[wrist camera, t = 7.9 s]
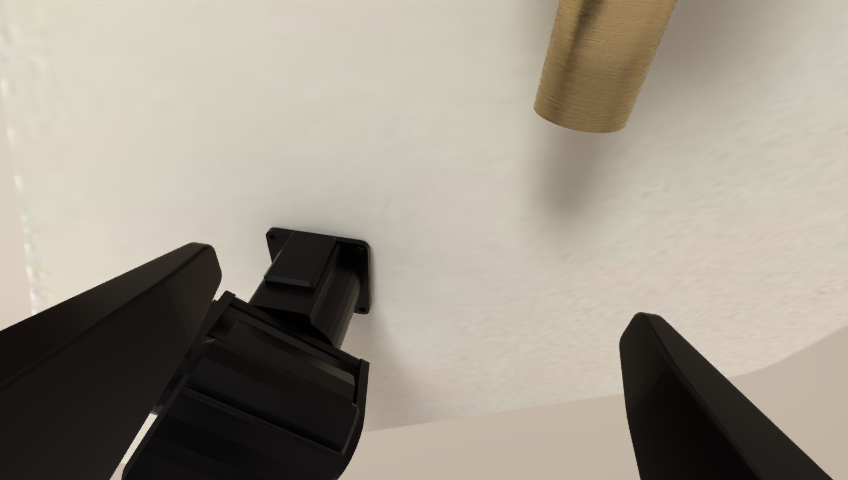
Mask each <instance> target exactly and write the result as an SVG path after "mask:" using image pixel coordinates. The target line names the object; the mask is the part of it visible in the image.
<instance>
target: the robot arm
mask: <svg viewBox="0 0 848 480" xmlns="http://www.w3.org/2000/svg"><path fill="white" fill-rule="evenodd" d="M274 235H275V236H274ZM276 236H277V237H276ZM266 239H267V243H268V248H269V252H270V256H271V261H272V264H271V266H270V267H269V269H268V270H267V272H266V274H265V275H264V279H263V280H262V282H261V284H260V285H259V287H258V288H257V290H256V291H255V293H254V294H253V296H252V298H251V299H250V301H249V302H248V303H247V302H245V301H243V300H241V299H239V298H237V297H235V296H236V295H235V294H233V293H231V292H229V291H227V290H226V291H225V292H224V293H223V295H222V296H221V297H220V298H219V300H218V301H217V300H215V299H214V300H213V298H214V296H215V294H216V291H217V289H218V287H219V285H220V282H221V278H222V272H221V269H220V265H219V262H218V259H217V256H216V252H215V249H214V248H213V247H212V246H211V245H209V244H203V243H196V242H192V243H189V244H186V245H184V246H182V247H180V248H178V249H176V250H173V251H171V252H169V253H167V254H165V255H163V256H161V257H158V258H156V259H154V260H152V261H150V262H148V263H145V264H143V265H141V266H139V267H137V268H135V269H133V270H130V271H128V272H126V273H124V274H122V275H120V276H118V277H115V278H113V279H111V280H109V281H107V282H105V283H102V284H100V285H98V286H96V287H94V288H92V289H90V290H87V291H85V292H83V293H81V294H79V295H77V296H74V297H72V298H70V299H68V300H66V301H64V302H62V303H59V304H57V305H55V306H53V307H51V308H49V309H46V310H44V311H42V312H40V313H38V314H36V315H34V316H31V317H29V318H27V319H25V320H23V321H21V322H18V323H17V324H14V325H12V326H10V327H8V328H6V329H4V330H1V331H0V480H110V478H111V476H112V475H113V473H114V472H115V470H116V468H117V467H118V465H119V463H120V462H121V460H122V459H123V457H124V455H125V454H126V452H127V450H128V449H129V447H130V445H131V444H132V442H133V440H134V439H135V437H136V435H137V434H138V432H139V430H140V429H141V427H142V425H143V424H144V422H145V421H146V419H147V417H148V416H149V414H150V413H151V414H154V415H157V418H156V419H155V421H154V422H153V424H152V425H151V427H150V428H149V430H148V431H147V433H146V435H145V436H144V438H143V439H142V441H141V442H140V444H139V445H138V447H137V448H136V450H135V452H134V453H133V455H132V456H131V458H130V459H129V461H128V462H127V464H126V466H125V468H124V470H123V474H122V479H121V480H337V479H338V478H339V477H340V476H341V475H342V473H343V472H344V470H345V469H346V467H347V466H348V464H349V462H350V460H351V458H352V456H353V454H354V452H355V449H356V447H357V444H358V442H359V439H360V436H361V432H362V429H363V423H364V416H365V406H366V395H367V384H368V373H369V362H367V361H365V360H363V359H358V358H356V357H354V356H352V355H350V354H348V353H346V352H344V351H342V350H340V348H341V345H342V342H343V339H344V337H345V334H346V331H347V328H348V326H349V323H350V320H351V317H352V315H353V313H359V314H368V313H369V311H370V307H371V291H370V247H369V245H368V243H367V242H365V241H362V240H357V239H350V238H343V237H336V236H329V235H323V234H316V233H309V232H302V231H295V230H288V229H282V228H270V229H269V231H268V232H267V233H266ZM358 247H360V248H362V249H359V248H358ZM212 300H213V301H212ZM619 350H620V359H621V369H622V378H623V388H624V397H625V406H626V413H627V419H628V424H629V430H630V434H631V439H632V443H633V447H634V452H635V457H636V461H637V466H638V470H639V475H640V479H641V480H833V479H832V478H831V477H830V476H829V475H828V474H826V473H825V472H824V471H823V470H822V469H821V468H820V467H819V466H818V465H817V464H816V463H815V462H814V461H813V460H812V459H811V458H810V457H809V456H807V455H806V454H805V453H804V452H803V451H802V450H801V449H800V448H799V447H798V446H797V445H796V444H795V443H794V442H793V441H791V439H790V438H789V437H787V436H786V435H785V434H784V433H783V432H782V431H781V430H780V429H779V428H778V427H777V426H776V425H775V424H774V423H773V422H772V421H771V420H770V419H769V418H767V417H766V416H765V415H764V414H763V413H762V412H761V411H760V410H759V409H758V408H757V407H756V406H755V405H754V404H753V403H752V402H751V401H750V400H749V399H747V398H746V397H745V396H744V395H743V394H742V393H741V392H740V391H739V390H738V389H737V388H736V387H735V386H734V385H733V384H732V383H731V382H730V381H729V380H727V379H726V378H725V377H724V376H723V375H722V374H721V373H720V372H719V371H718V370H717V369H716V368H715V367H714V366H713V365H712V364H711V363H710V362H709V361H708V360H706V359H705V358H704V357H703V356H702V355H701V354H700V353H699V352H698V351H697V350H696V349H695V348H694V347H693V346H692V345H691V344H690V343H689V342H688V341H686V340H685V339H684V338H683V337H682V336H681V335H680V334H679V333H678V332H677V331H676V330H675V329H674V328H673V327H672V326H671V325H670V324H669V323H668V322H666V321H665V320H664V319H663V318H662V317H661V316H659V315H656V314H650V313H644V312H639V313H637V314H635V315H634V317H633V318H632V320H631V321H630V323H629V325H628V326H627V328H626V329H625V331H624V333H623V334H622V336H621V338H620V342H619Z"/></svg>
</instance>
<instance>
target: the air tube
mask: <svg viewBox="0 0 848 480" xmlns="http://www.w3.org/2000/svg"><path fill="white" fill-rule="evenodd" d="M676 1H677V0H560V2H559V6H558V10H557V14H556V18H555V22H554V26H553V30H552V34H551V38H550V42H549V46H548V50H547V54H546V58H545V62H544V66H543V71H542V75H541V79H540V83H539V87H538V91H537V95H536V99H535V103H534V110H535V111H536V113H537V114H538V115H540V116H541V117H542V118H544V119H546V120H548V121H550V122H552V123H554V124H557V125H559V126H562V127H566V128H569V129H573V130H578V131H584V132H593V133H607V132H614V131H618V130H620V129H622V128H624V127H625V125H626V123H627V120H628V118H629V116H630V113H631V111H632V108H633V106H634V103H635V101H636V99H637V96H638V94H639V91H640V89H641V86H642V84H643V81H644V79H645V77H646V74H647V72H648V69H649V67H650V64H651V62H652V60H653V57H654V55H655V52H656V50H657V47H658V45H659V43H660V40H661V38H662V35H663V33H664V30H665V28H666V25H667V23H668V21H669V18H670V16H671V13H672V11H673V8H674V6H675V4H676Z"/></svg>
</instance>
